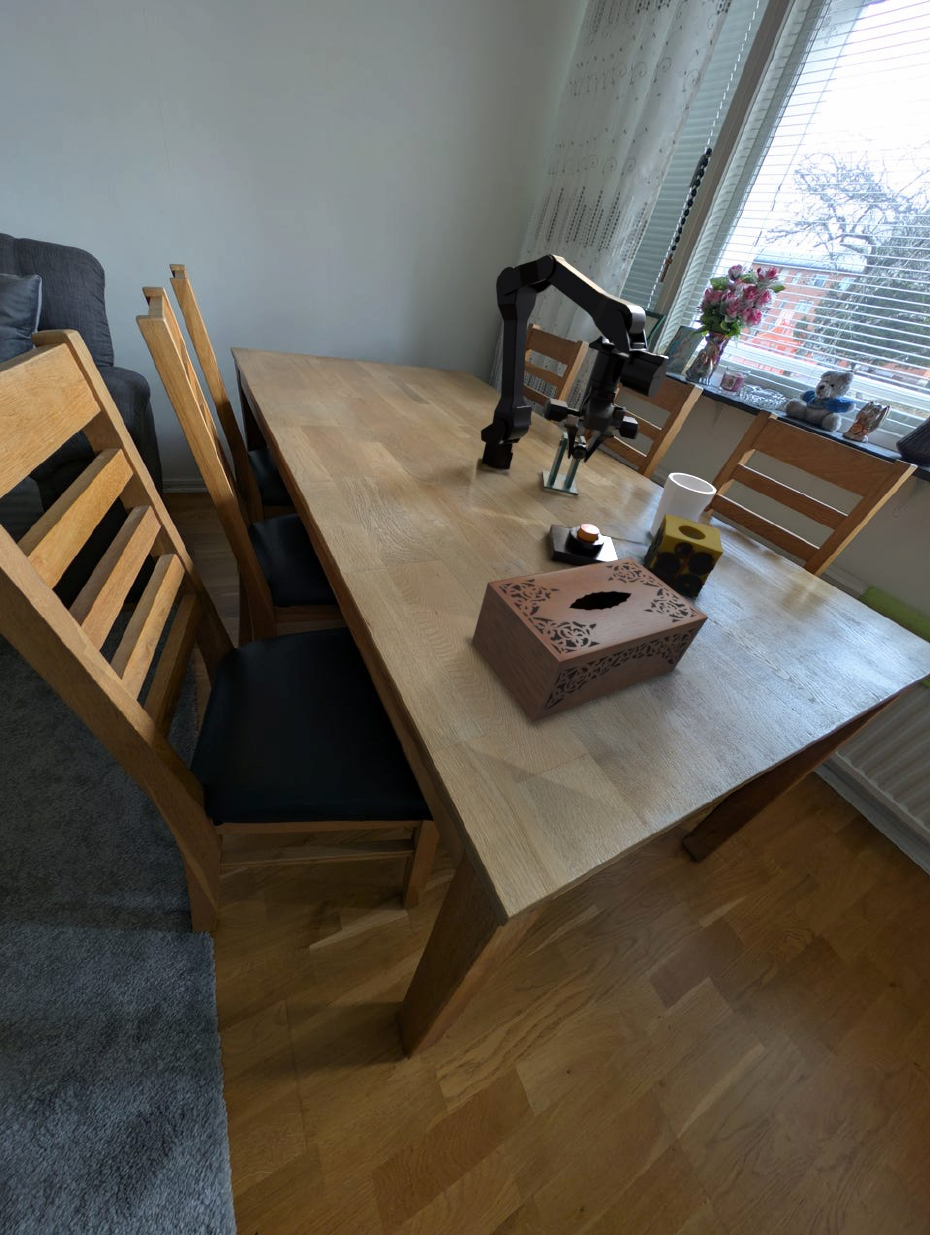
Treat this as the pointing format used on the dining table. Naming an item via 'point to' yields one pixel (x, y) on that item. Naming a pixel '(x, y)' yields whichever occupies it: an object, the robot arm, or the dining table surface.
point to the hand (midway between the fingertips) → (576, 460)
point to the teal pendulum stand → (553, 478)
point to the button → (588, 532)
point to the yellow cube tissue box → (683, 554)
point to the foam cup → (683, 498)
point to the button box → (579, 547)
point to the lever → (578, 451)
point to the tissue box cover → (582, 633)
